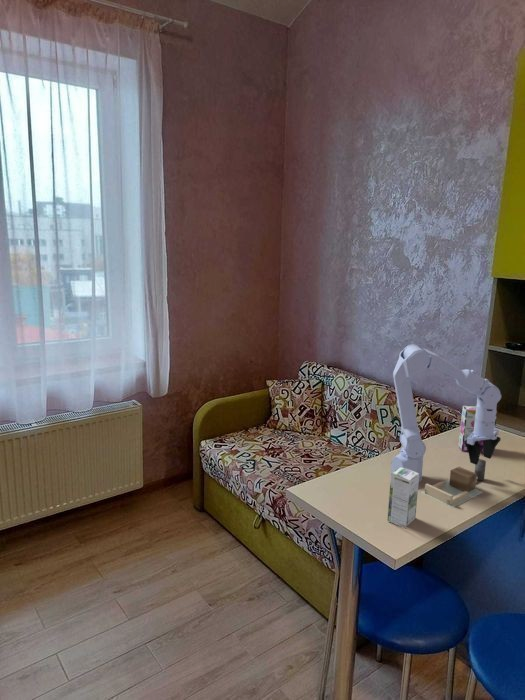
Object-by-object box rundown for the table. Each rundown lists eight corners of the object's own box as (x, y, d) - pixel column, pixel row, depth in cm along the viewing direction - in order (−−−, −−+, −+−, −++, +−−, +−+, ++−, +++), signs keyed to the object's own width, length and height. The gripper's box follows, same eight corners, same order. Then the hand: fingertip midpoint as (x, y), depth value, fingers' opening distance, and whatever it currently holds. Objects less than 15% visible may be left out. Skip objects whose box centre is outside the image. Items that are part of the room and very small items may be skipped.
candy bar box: (461, 452, 180) (465, 409, 176) (457, 446, 185) (461, 405, 181) (493, 453, 179) (498, 410, 175) (488, 447, 184) (492, 406, 180)
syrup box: (396, 513, 139) (399, 466, 136) (416, 520, 135) (419, 472, 132) (386, 521, 135) (389, 473, 132) (407, 529, 131) (410, 479, 128)
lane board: (452, 510, 140) (453, 498, 139) (420, 494, 149) (421, 483, 148) (483, 494, 149) (484, 482, 148) (451, 480, 158) (452, 469, 157)
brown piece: (466, 492, 148) (468, 474, 147) (449, 485, 153) (450, 467, 152) (490, 481, 156) (492, 463, 154) (473, 474, 160) (474, 456, 159)
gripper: (483, 428, 146) (479, 470, 148) (509, 419, 154) (504, 459, 157) (462, 421, 151) (458, 462, 154) (488, 413, 159) (484, 451, 162)
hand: (480, 460), depth 156 cm, fingers open, 7 cm apart
